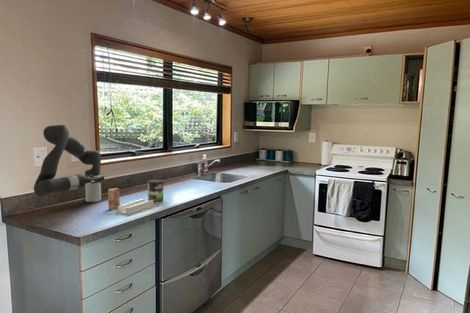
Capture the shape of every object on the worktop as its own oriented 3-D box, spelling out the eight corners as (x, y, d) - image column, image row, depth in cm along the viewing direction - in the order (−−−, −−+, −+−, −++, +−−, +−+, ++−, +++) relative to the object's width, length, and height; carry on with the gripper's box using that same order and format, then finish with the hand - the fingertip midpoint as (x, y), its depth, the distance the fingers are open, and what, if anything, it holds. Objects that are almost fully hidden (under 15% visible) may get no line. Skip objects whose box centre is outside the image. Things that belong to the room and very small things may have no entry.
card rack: (129, 215, 196) (128, 208, 195) (116, 212, 200) (116, 206, 200) (154, 206, 215) (154, 200, 215) (142, 204, 220) (142, 198, 219)
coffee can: (166, 201, 227) (166, 180, 226) (153, 204, 220) (153, 182, 218) (157, 198, 234) (157, 178, 233) (144, 201, 227) (144, 180, 225)
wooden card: (112, 209, 206) (111, 190, 205) (108, 209, 208) (108, 189, 206) (119, 207, 212) (119, 188, 210) (116, 206, 213) (115, 187, 212)
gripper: (82, 176, 179) (107, 172, 194) (64, 173, 186) (89, 169, 200) (83, 190, 180) (107, 185, 195) (65, 187, 187) (90, 182, 201)
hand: (98, 177), depth 197 cm, fingers open, 8 cm apart
